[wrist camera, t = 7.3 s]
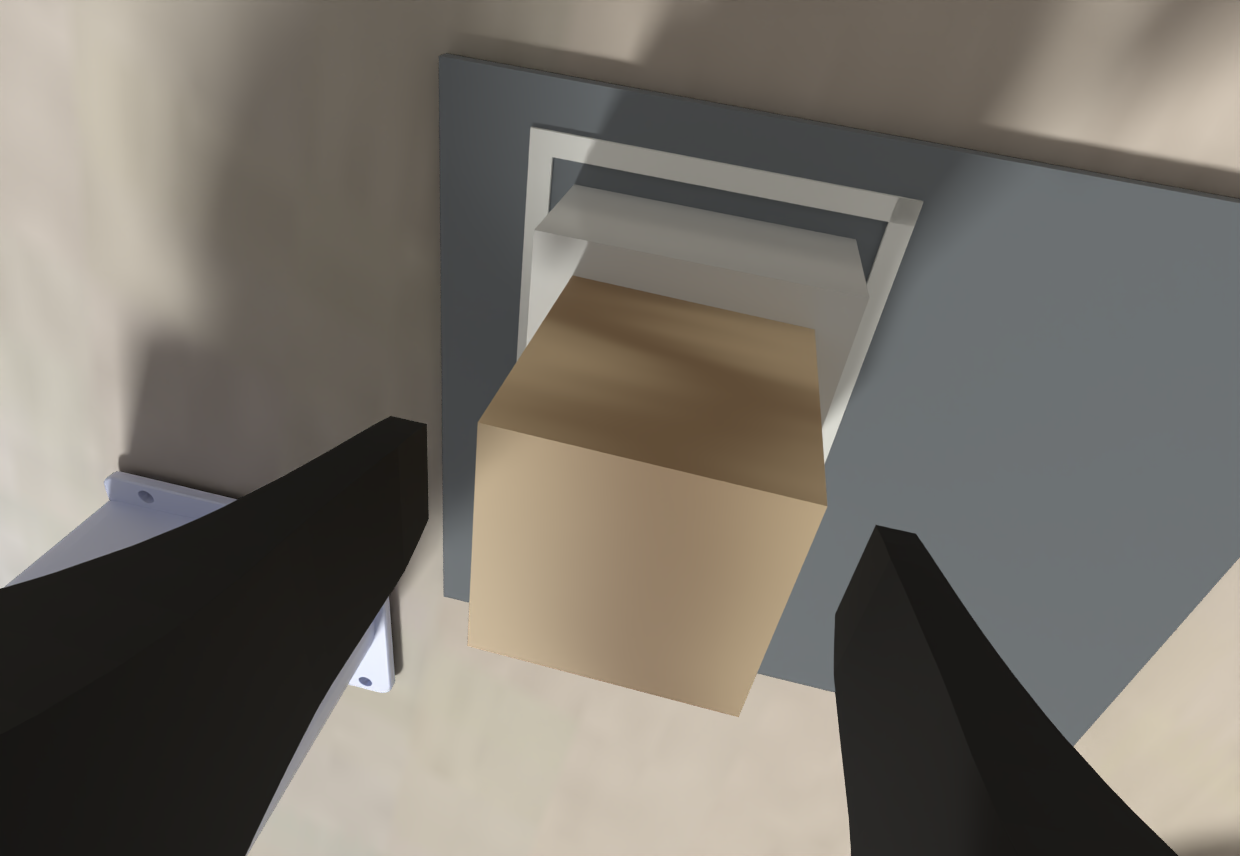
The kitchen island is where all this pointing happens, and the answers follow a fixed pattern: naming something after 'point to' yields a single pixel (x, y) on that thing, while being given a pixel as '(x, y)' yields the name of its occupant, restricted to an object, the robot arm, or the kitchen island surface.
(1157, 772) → the kitchen island surface
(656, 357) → the oak block
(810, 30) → the kitchen island surface
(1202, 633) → the kitchen island surface
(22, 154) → the kitchen island surface
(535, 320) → the block
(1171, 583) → the slate mat
